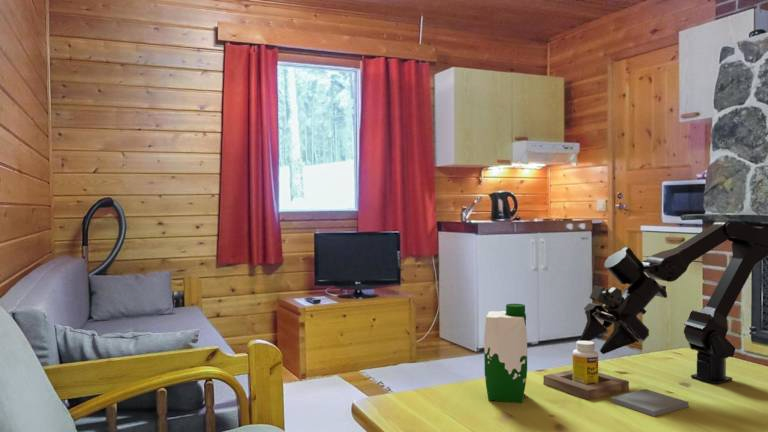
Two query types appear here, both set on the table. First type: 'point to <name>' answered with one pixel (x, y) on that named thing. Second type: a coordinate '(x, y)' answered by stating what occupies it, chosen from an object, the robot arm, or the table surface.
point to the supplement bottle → (585, 363)
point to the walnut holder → (599, 389)
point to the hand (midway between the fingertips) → (590, 347)
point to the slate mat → (650, 402)
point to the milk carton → (506, 354)
